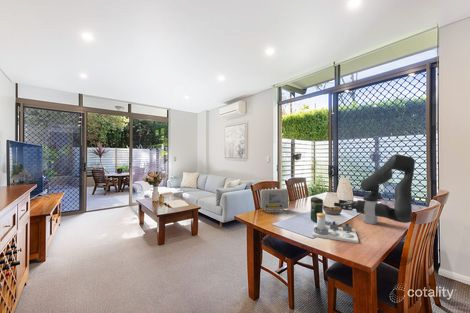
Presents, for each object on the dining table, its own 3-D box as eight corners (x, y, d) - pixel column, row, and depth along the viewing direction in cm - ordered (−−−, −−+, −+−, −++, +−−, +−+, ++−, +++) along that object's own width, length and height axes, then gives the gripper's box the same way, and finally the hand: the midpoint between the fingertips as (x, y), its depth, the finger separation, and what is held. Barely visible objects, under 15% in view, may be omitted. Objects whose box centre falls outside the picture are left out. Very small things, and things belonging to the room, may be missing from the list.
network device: (286, 208, 197) (286, 188, 197) (289, 211, 188) (289, 190, 188) (260, 209, 195) (260, 189, 195) (262, 212, 187) (261, 190, 186)
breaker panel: (314, 225, 151) (314, 217, 151) (354, 231, 140) (354, 221, 140) (312, 236, 133) (312, 226, 133) (358, 243, 122) (358, 232, 122)
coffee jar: (325, 222, 158) (325, 198, 158) (316, 223, 157) (315, 199, 156) (317, 218, 168) (317, 196, 167) (309, 219, 166) (308, 196, 166)
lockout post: (317, 230, 139) (316, 212, 139) (325, 231, 137) (325, 213, 137) (316, 232, 134) (316, 214, 134) (325, 234, 132) (325, 215, 132)
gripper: (369, 199, 122) (340, 194, 133) (363, 204, 112) (332, 199, 123) (369, 211, 122) (340, 206, 133) (363, 217, 112) (332, 211, 123)
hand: (336, 202), depth 128 cm, fingers open, 8 cm apart
